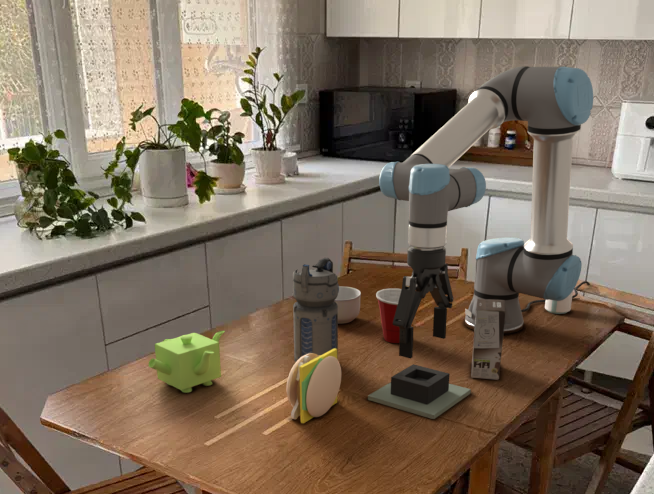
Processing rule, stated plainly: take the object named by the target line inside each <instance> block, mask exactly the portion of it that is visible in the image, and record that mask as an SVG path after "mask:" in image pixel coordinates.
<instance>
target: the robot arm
mask: <svg viewBox="0 0 654 494" xmlns="http://www.w3.org/2000/svg"><path fill="white" fill-rule="evenodd" d="M593 106H594V88H593V83H592V81H591V78H590V77H589V75H588V74H587V72H586V71H585V70H583V69H581V68H578V67H569V66H524V65H523V66H516V67H513V68H509V69H507V70H505V71H503V72H500V73H499V74H497V75H495V76H494V77H492V78H490V79H489V80H487V81H485V82H484V83H483V84H482V85H480V86H479V87H478V88H477V89H476V90H474V91H473V92H472V93H471V94H470V96H469V98H468V101H467V104H466V105H464V106H463V107H462V108H461V109H460V110H459V111H458V112H457V113H456V114H454V116H452V117H451V118H450V119H449V120H448V121H447V122H446V123H445V124H444V125H443V126H442V127H440V128H439V129H438V130H437V131H436V132H435V133H434V134H433V135H431V136H430V137H429V138H428V139H427V140H426V141H425V142H424V143H423V144H421V145H420V146H419V147H418V148H417V149H416V150H415V151H414V152H413V153H411V154H410V155H409V156H408V157H407V158H406V159H405V160H404V161H403V162H400V161H391V162H387V163H386V164H385V165H383V167H382V168H381V171H380V174H379V180H378V183H379V184H378V185H379V188H380V191H381V193H382V195H384V196H385V197H387V198H391V199H395V200H397V201H406V202H408V227H407V232H408V237H407V244H408V245H409V246H408V247H407V257H406V258H407V259H406V263H407V265H408V266H409V267H410V268H411V269H412V273H411V276H407V275H404V276H403V277H402V282H401V283H402V284H401V289H402V290H401V294H400V297H399V301H398V305H397V309H396V312H395V316H394V320H393V325H394V326H398V327H399V328H400V333H399V335H400V336H399V337H400V338H399V343H398V344H399V346H398V356H399V357H402V358H406V359H410V360H411V359H413V357H414V355H413V354H414V326H412V324H413V322H414V320H415V317H416V315H417V312H418V310H419V307H420V304H421V303H422V300H423V299H425V298H426V296H427V294H428V293H430V295H431V297H432V299H433V302H434V303H435V305H436V306H434V307H433V321H432V325H433V326H432V337H434V338H439V339H443V340H444V339H446V336H447V321H448V320H447V318H448V309H452V308H453V302H454V294H453V290H452V285H451V281H450V277H449V273H448V272H449V270H448V269H449V266H448V263H446V258H447V257H446V256H447V255H446V254H447V248H446V247H445V246H446V245H447V240H448V239H447V235H448V215H449V214H448V212H451V211H454V210H459V209H462V208H469V207H471V206H472V205H476V204H478V203H479V202H480V201H481V200H482V199H483V198H484V196H485V194H486V191H487V182H486V178H485V176H484V175H483V173H482V171H480V170H479V169H477V168H476V167H472V166H471V167H465V166H463V167H461V168H460V167H459V168H451V166H453V165H454V163H455V162H457V161H458V160H459V159H460V158H461V157H462V156H463V155H464V154H465V153H466V152H468V150H469V149H471V147H473V146H474V145H475V144H476V143H477V142H478V141H479V140H480V139H481V138H482V137H483V136H484V135H485V134H486V133H487V132H489V130H494V129H497V128H499V127H500V126H501V125H502V124H504V123H505V122H509V121H520V122H527V133H528V135H530V137H531V138H532V139H533V159H532V183H531V184H532V186H531V211H530V212H531V213H530V236H529V237H530V238H529V239H528V240H527V241H526V242H525V240H524V239H523V238H521V237H520V238H519V237H497V238H490V239H486V240H483V241H481V242H479V244H478V246H477V250H476V254H475V255H476V256H475V269H474V270H475V271H474V284H473V296H472V299H471V301H470V304H469V306H468V308H465V309H464V310H465V311H464V314H465V317H464V325H465V327H466V328H468V329H470V330H472V331H474V329H475V317H476V306H477V299H485V300H487V299H494V300H505V308H506V313H505V323H504V334H503V335H506V334H514V333H516V332H519V331H521V330H522V329H523V328H524V315H523V313H524V312H527V311H529V309H530V306H531V305H533V304H536V303H537V304H539V303H545V301H546V300H548V299H549V300H555V301H561V300H564V299H565V298H567V297H568V296H569V295H570V294H571V292H572V291H573V292H574V293H575V294H573V295H572V299H575V298H576V297H577V296H578V295H579V293H578V289H579V288H581V287H582V286H583V285H585V284H586V285H587V286H591V284H590V282H589V281H588V280H583V281H582V282H580V283H579V284H578V281H579V279H580V276H581V272H582V265H583V263H582V260H581V257H580V256H578V255H577V254H574V253H573V252H574V244H573V242H572V241H570V240H569V239H568V227H569V210H570V196H571V180H572V179H571V178H572V177H571V176H572V164H573V163H572V161H573V160H572V159H573V143H574V138H575V137H576V136H577V135H578V134H579V132H581V128H582V125H583V124H586V122H587V121H588V120H589V118H590V116H591V114H592V113H591V111H592V110H593ZM520 294H522V295H526V296H531V297H535V298H539V299H536V300H531V301H529V302H528V303H527V305H526V307H525V308H522V309H521V304H520V297H519V295H520Z"/></svg>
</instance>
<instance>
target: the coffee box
mask: <svg viewBox="0 0 654 494" xmlns="http://www.w3.org/2000/svg"><path fill="white" fill-rule="evenodd" d="M505 313H506V308H505V300H494V299H487V300H485V299H477V306H476V317H475V329H474V330H473V344H472V359H471V374H470V377H471V378H472V379H484V380H495V381H498V380H499V379H500V371H501V361H502V354H503V345H504V344H503V343H504V335H505V334H504V323H505Z"/></svg>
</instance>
